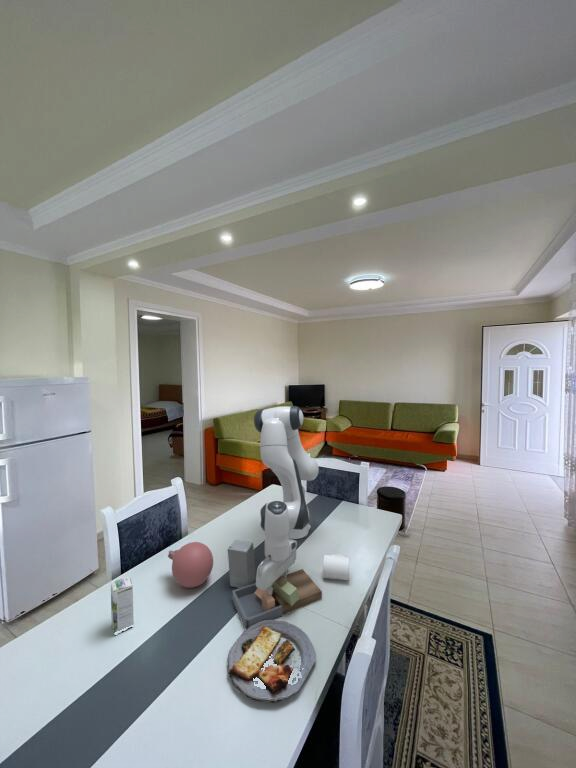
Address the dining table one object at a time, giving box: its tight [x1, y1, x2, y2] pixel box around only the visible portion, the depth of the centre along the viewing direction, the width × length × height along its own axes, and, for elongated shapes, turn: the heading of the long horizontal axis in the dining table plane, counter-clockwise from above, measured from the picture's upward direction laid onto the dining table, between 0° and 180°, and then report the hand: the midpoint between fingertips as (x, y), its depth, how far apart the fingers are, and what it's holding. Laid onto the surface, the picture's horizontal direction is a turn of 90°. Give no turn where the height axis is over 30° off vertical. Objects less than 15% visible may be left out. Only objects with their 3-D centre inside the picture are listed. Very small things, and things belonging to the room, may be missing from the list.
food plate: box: [227, 619, 317, 703], centre depth 91 cm, size 25×23×4 cm
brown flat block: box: [272, 568, 323, 616], centre depth 117 cm, size 14×16×3 cm
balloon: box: [167, 541, 214, 589], centre depth 124 cm, size 15×20×15 cm
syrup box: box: [110, 576, 135, 634], centre depth 103 cm, size 6×6×14 cm
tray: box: [231, 582, 283, 629], centre depth 110 cm, size 15×13×4 cm
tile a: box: [254, 588, 267, 601], centre depth 114 cm, size 5×5×2 cm
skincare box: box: [227, 539, 256, 589], centre depth 122 cm, size 8×7×16 cm
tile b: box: [262, 591, 275, 611], centre depth 109 cm, size 5×5×2 cm
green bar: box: [271, 576, 299, 606], centre depth 113 cm, size 14×4×6 cm, turn 42°
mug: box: [322, 553, 350, 582], centre depth 128 cm, size 12×10×8 cm
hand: (277, 587), depth 113 cm, fingers open, 6 cm apart
